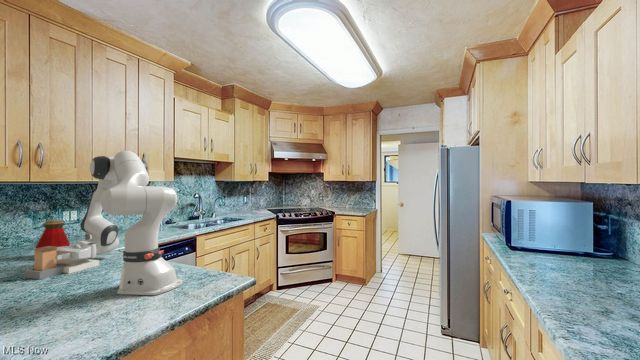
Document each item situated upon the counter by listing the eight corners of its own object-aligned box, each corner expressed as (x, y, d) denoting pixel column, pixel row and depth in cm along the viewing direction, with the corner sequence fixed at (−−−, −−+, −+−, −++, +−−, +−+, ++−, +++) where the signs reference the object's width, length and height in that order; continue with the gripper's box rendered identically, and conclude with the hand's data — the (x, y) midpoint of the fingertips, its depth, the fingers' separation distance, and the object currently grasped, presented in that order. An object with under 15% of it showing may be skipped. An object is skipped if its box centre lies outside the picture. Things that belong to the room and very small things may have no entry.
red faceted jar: (28, 258, 148) (29, 221, 148) (60, 252, 161) (60, 218, 161) (44, 261, 142) (45, 222, 142) (76, 254, 155) (76, 219, 155)
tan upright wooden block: (56, 273, 122) (56, 246, 122) (42, 277, 117) (42, 249, 117) (48, 272, 123) (48, 246, 124) (34, 276, 119) (34, 248, 119)
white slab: (99, 265, 135) (99, 259, 135) (45, 280, 114) (45, 272, 114) (69, 262, 140) (69, 256, 140) (13, 275, 119) (13, 269, 119)
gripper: (67, 242, 138) (32, 248, 124) (98, 244, 132) (65, 251, 119) (67, 254, 138) (32, 262, 124) (98, 257, 132) (65, 265, 119)
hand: (48, 256), depth 122 cm, fingers open, 8 cm apart
